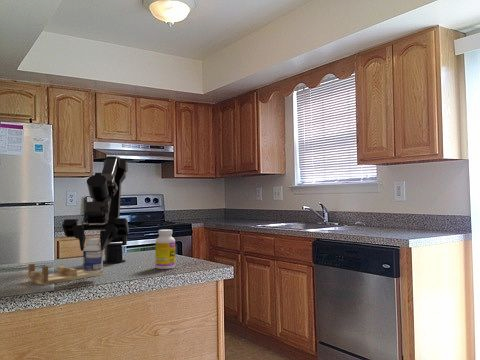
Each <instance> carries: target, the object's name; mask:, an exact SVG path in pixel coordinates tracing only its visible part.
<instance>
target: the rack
mask: <svg viewBox="0 0 480 360" xmlns="http://www.w3.org/2000/svg"><path fill="white" fill-rule="evenodd" d="M35 265H36V264H35V263H29V264H28V282H29V283H33V284H36V285H37V284H38V285H40V286H41V285H42V286H49V285H53V284H59V283H65V282H70V281H75V280H79V279H85V278H91V277H96V276H97V277H98V276H102V275H104V269H103V270H102V271H101V272H99V273H84V272H83V268H80V269H77V268H73V267H72V268H71V267H67V266H62V265H59V266H57V273H56V272H55V273H50V274H49V266H42V267H41V271H35V270H36V269H35V268H36V266H35Z"/></svg>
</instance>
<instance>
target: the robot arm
mask: <svg viewBox="0 0 480 360" xmlns="http://www.w3.org/2000/svg"><path fill="white" fill-rule="evenodd" d="M128 171H129V167H128V162H127V160H126V159H123V158H120V156H117V155H115V156H114V155H108V156H105V157H104V160H103V167H102V169H101V172H95V173H94V174H93V175H91V176H89V177H88V178H87V179H86V184H87V189H88V194H89V198H90V199H91V201H86V202H85V203H84V210H83V211H84V213H83V214H85V217H84V218H85V219H84V220H85V221H87V222H83V221H79V220H78V218H65V219H63V221H62V224H61V226H62V227H61V228H62V229H63V232H64V236H65V237H67V238H75V239H76V240H78V241H79V248H80V251H81V252H83V248H84V247H85V245H86V239H87V237H86V234H85V231H88V232H99V238H100V243H99V244H100V246H101V250H103V251H104V259H103V264H104V263H105V264H109V265H110V264H112V265H113V264H118V263H123V262H126V261H127V260H126V259H123V246H124V247H125V246H128V240H127V236H129V233H130V231H129V230H130V227H129V223H128V219H127V218H126V217H120V213H121V211H120V210H121V193H122V183H123V182H124V180H126V177H127V173H128Z"/></svg>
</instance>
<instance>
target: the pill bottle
mask: <svg viewBox="0 0 480 360" xmlns="http://www.w3.org/2000/svg"><path fill="white" fill-rule="evenodd" d="M82 252H83V253H82V255H83V256H82V258H83V259H82V263H83V264H82V265H83V266H82V267H83V268H82V269H83V272H84V273H99V272H101V271H102V270H103V271H104V262H103V260H104V258H103V255H104V254H103V252H104V250H101V243H100V237H90V238H86V239H85V245H84V248H83V251H82Z"/></svg>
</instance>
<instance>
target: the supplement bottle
mask: <svg viewBox="0 0 480 360" xmlns="http://www.w3.org/2000/svg"><path fill="white" fill-rule="evenodd" d="M157 233H158V237H157V238H156V239H155V268H156V269H159V270H171V269H174V268H175V267H176V239H175V238H174V237H173V236H172V235H173V229H158V232H157Z"/></svg>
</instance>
